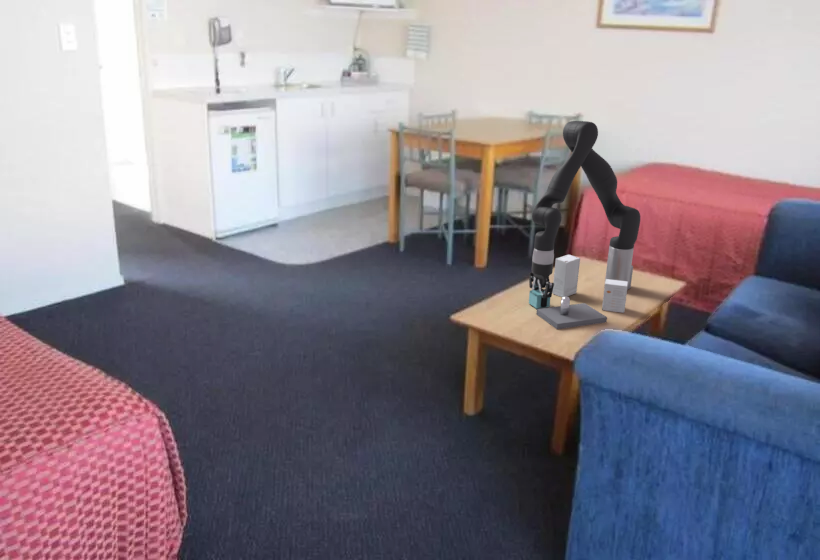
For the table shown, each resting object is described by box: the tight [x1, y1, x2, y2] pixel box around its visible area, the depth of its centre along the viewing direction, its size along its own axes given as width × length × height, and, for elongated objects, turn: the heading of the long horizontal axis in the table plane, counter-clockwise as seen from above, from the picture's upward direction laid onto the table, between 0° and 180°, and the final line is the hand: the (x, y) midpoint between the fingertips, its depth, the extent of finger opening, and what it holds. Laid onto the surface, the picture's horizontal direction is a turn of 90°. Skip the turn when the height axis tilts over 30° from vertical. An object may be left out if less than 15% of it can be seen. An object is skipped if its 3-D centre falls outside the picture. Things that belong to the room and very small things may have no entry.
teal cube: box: [528, 289, 551, 309], centre depth 253 cm, size 6×6×5 cm
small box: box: [601, 279, 628, 314], centre depth 250 cm, size 8×6×10 cm
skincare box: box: [552, 254, 581, 298], centre depth 263 cm, size 8×6×15 cm
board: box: [535, 302, 608, 330], centre depth 242 cm, size 20×14×2 cm
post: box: [560, 296, 571, 315], centre depth 240 cm, size 3×3×6 cm
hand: (539, 303), depth 253 cm, fingers closed on teal cube, 5 cm apart
